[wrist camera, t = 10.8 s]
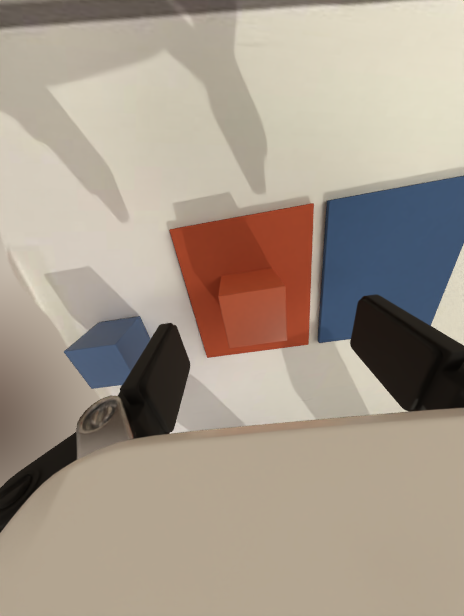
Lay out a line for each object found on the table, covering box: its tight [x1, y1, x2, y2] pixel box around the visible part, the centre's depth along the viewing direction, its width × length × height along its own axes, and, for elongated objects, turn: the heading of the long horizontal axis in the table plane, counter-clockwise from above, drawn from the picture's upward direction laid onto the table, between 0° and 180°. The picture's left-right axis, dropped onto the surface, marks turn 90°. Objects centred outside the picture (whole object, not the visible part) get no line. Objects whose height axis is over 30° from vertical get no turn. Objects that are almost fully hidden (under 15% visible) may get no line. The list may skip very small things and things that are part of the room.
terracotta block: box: [218, 268, 287, 348], centre depth 13 cm, size 4×4×4 cm
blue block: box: [64, 316, 150, 389], centre depth 16 cm, size 4×4×4 cm
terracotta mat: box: [170, 203, 314, 358], centre depth 15 cm, size 12×10×1 cm
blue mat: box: [318, 176, 464, 343], centre depth 15 cm, size 12×10×1 cm
